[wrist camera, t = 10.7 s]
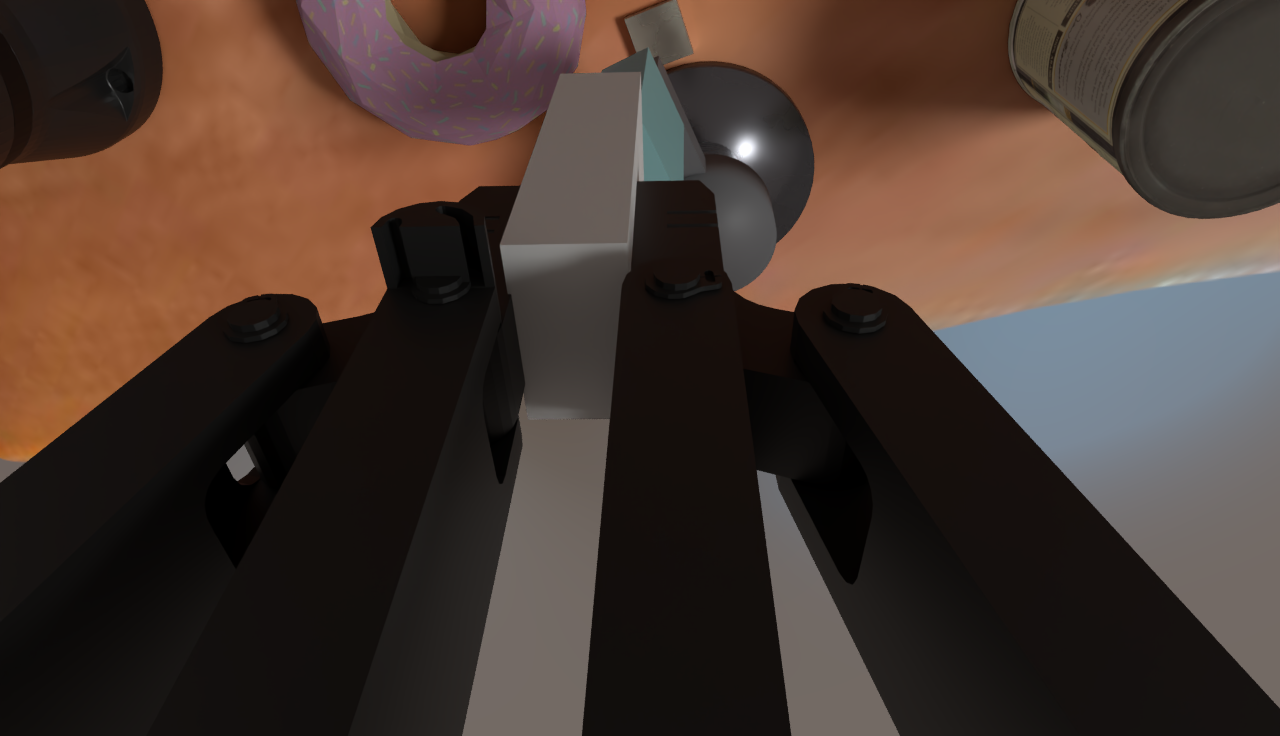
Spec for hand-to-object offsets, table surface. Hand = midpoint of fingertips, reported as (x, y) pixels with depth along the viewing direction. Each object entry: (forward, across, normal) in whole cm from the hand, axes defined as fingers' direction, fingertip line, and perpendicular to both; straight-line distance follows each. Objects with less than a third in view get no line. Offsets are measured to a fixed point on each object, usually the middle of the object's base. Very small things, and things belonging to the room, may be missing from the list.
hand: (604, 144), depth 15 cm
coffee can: (+31, -25, +5) cm, 40 cm away
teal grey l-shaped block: (+25, -2, +11) cm, 27 cm away
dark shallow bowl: (+31, -3, +12) cm, 33 cm away
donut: (+32, +11, +3) cm, 34 cm away
